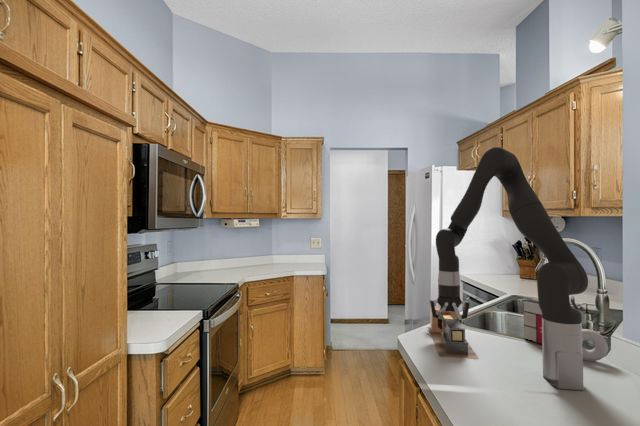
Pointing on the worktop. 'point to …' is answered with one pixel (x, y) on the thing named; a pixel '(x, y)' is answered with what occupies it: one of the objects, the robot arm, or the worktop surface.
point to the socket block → (434, 320)
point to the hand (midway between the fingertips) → (449, 329)
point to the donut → (599, 342)
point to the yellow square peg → (454, 333)
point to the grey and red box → (532, 321)
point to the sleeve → (447, 341)
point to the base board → (437, 341)
